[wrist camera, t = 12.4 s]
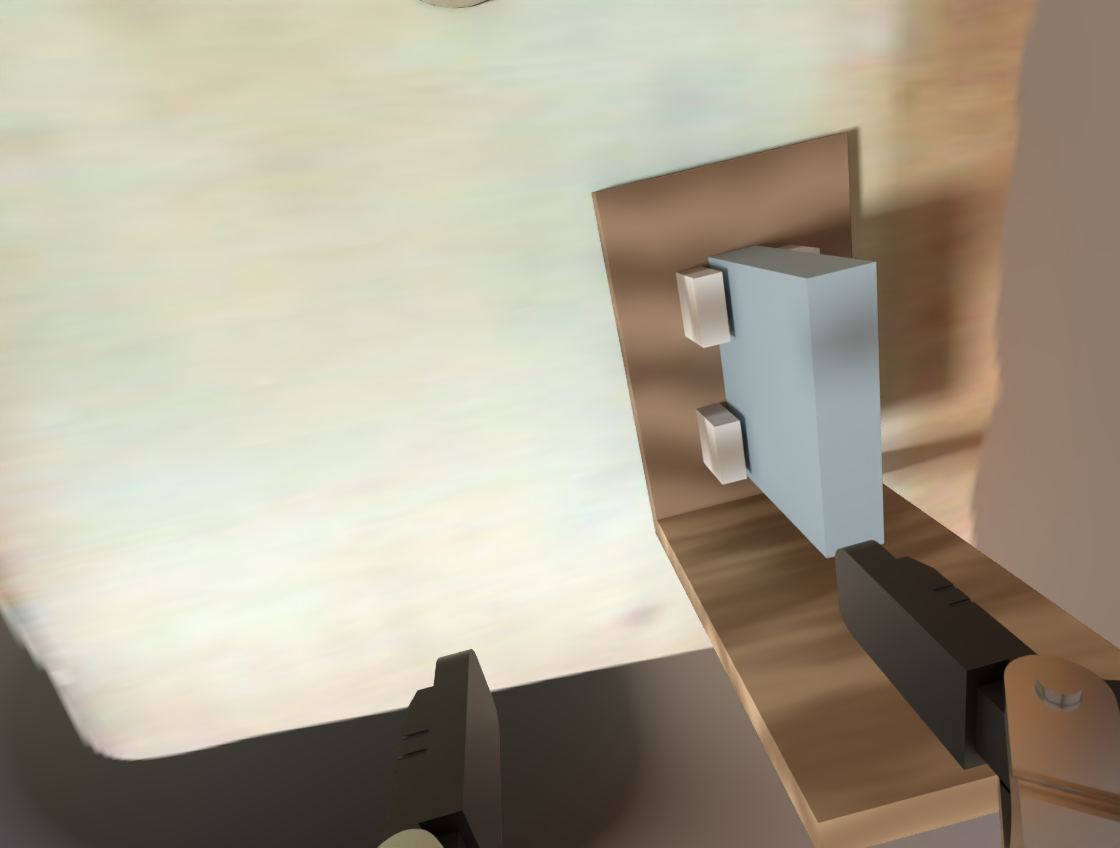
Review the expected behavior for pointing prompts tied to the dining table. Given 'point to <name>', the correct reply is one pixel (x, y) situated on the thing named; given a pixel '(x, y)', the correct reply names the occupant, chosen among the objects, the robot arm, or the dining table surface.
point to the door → (807, 387)
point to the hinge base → (689, 240)
